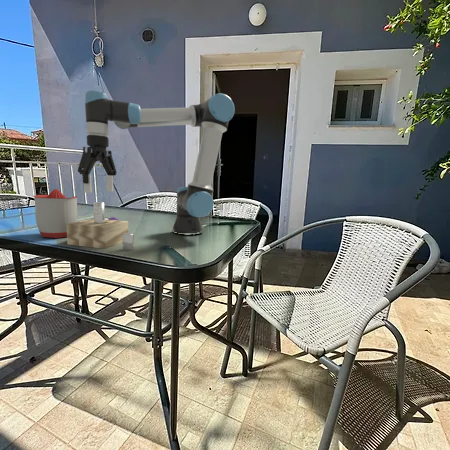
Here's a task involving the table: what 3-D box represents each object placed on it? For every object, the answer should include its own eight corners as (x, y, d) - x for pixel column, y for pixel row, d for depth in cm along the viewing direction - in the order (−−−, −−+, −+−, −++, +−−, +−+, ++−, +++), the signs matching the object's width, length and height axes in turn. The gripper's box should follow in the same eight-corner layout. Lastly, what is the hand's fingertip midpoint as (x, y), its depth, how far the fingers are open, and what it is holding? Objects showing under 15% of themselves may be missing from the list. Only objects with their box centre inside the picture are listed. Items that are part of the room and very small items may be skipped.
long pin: (107, 241, 110) (106, 202, 107) (101, 243, 106) (100, 203, 103) (98, 240, 111) (97, 201, 108) (92, 242, 107) (91, 202, 104)
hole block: (128, 239, 115) (128, 221, 113) (105, 248, 99) (105, 227, 98) (94, 236, 117) (94, 218, 116) (67, 244, 102) (66, 223, 101)
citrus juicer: (89, 233, 122) (88, 189, 119) (56, 241, 106) (54, 190, 102) (62, 230, 126) (60, 187, 123) (26, 236, 110) (23, 187, 106)
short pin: (135, 248, 101) (135, 233, 100) (130, 251, 98) (130, 235, 97) (126, 247, 102) (126, 232, 101) (120, 250, 98) (120, 234, 97)
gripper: (108, 140, 114) (109, 190, 118) (63, 129, 90) (67, 192, 94) (124, 140, 113) (125, 191, 117) (83, 129, 89) (86, 193, 92)
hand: (99, 192), depth 105 cm, fingers open, 13 cm apart
